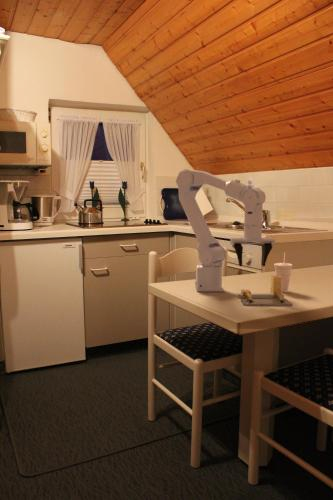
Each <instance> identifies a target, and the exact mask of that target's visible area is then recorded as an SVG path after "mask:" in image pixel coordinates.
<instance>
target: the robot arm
mask: <svg viewBox="0 0 333 500" xmlns="http://www.w3.org/2000/svg"><path fill="white" fill-rule="evenodd" d="M175 183H176V185H177V188H178V189H177V190H178V200H179V202H180V205H181V207H182V210H183V211H184V213H185V215H186V218H187V220H188V222H189V224H190V226H191V229H192V230H193V233H194V236H195V237H196V240H197V242H198V243H197V246H196V250H197V252H198V253H197V254H198V260H199V262H200V263H201V264H197V265H196V266H195V281H194V283H195V284H194V287H195V289H196V291H197V292H225V289H224V287H223V284H222V283H223V261H225V258H226V256H227V251H226V249H225V248H224V246H222V245H221V243H220V242H219V240H218V239H217V238H215V236H213V235H212V232H211V230H210V228H209V226H208V223H207V221H206V219H205V217H204V215H203V213H202V210H201V208H200V206H199V204H198V202H197V199H196V197H197V194H198V192H199V191H200V190H201V188H202V187H203V185H208V186H211V187H213V188H216V189H219V190H222V191H224V194H225V196H226V197H229V198H231V199H234V200H236V201H237V202H238V201H239V202H241V203H242V204H243V205H244V225H243V227H244V228H243V237H231V238H230V245H232V247H233V249H234V251H235V254H236V257H237V262H238V266H239V267H243V249H244V247H243V245H261V266H262V267H265V266H266V264H267V260H268V256H269V254H270V253H271V251H272V249H273V245H276V238H274V237H270V238H269V237H262V236H263V235H262V233H263V232H262V231H263V229H262V228H263V204H264V203H265V202H266V193H265V192H264V191H263V190H262V189H261V188H253V185H250V184H248V185H246V183H245V184H244V183H242V182H241V180H239V179H235V180H234V179H231V180H229V181H227V180H225V179H222V178H220V177H218V176H217V175H215V174H212V173H210V172H207V171H203V170H200V169H196V170H195V169H187V168H183V169H181V170H180V171H179V172H178V175H177V177H176V179H175Z"/></svg>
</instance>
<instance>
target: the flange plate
mask: <svg viewBox="0 0 333 500" xmlns="http://www.w3.org/2000/svg"><path fill="white" fill-rule="evenodd" d="M240 302H241V304H242V305H243V307H244V306H245V307H251V306H252V307H253V306H254V307H259V306H260V307H261V306H262V307H263V306H264V307H266V306H267V307H270V306H271V307H272V306H273V307H274V306H275V307H279V306H280V307H282V306H283V307H292V306H293V303H291V301H290V300H288V299H287V298H286V299H285V298H284V299H283V301H280V299H252V301H249V299H242V298H240Z"/></svg>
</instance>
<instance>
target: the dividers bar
mask: <svg viewBox="0 0 333 500" xmlns="http://www.w3.org/2000/svg"><path fill="white" fill-rule="evenodd" d="M281 295H282V296H283V297H284V298H285V295H284V294H283V293H281ZM237 298H238V299H249V301H252V299H280V298H279V297H278V296H277V295H272V294H271V293H258V292H257V293H254V292H253V293H252V291H251V290H250V289H240V293H239V292H238V293H237Z"/></svg>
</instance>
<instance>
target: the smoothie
mask: <svg viewBox="0 0 333 500" xmlns="http://www.w3.org/2000/svg"><path fill="white" fill-rule="evenodd" d="M286 253H287V252H285V251H284V252H283V262H276V263H275V262H274V265H273V266H274V272H275V274H274V275H275V276H281V277H282V280H281V290H282V291H281V293H287V292H288V290H289V287H290V286H289V284H290V280H291V279H290V278H291V275H292V274H291V273H292V269H293V266H294V265H293V264H292V263H288V262H286V256H287V255H286Z"/></svg>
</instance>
